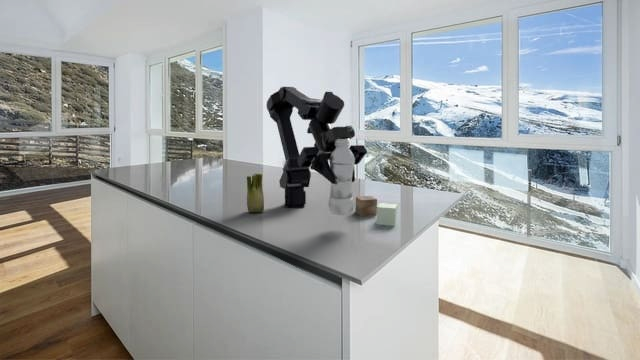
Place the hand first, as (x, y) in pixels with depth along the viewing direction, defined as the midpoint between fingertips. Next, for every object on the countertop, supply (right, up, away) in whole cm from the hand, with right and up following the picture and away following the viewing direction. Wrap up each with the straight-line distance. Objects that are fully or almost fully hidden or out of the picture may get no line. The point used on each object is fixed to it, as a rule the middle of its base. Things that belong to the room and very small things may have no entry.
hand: (344, 182), depth 93 cm
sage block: (+13, -12, +10) cm, 20 cm away
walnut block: (+8, -10, +19) cm, 23 cm away
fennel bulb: (-26, -10, +20) cm, 34 cm away
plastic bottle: (-1, -9, +3) cm, 9 cm away
